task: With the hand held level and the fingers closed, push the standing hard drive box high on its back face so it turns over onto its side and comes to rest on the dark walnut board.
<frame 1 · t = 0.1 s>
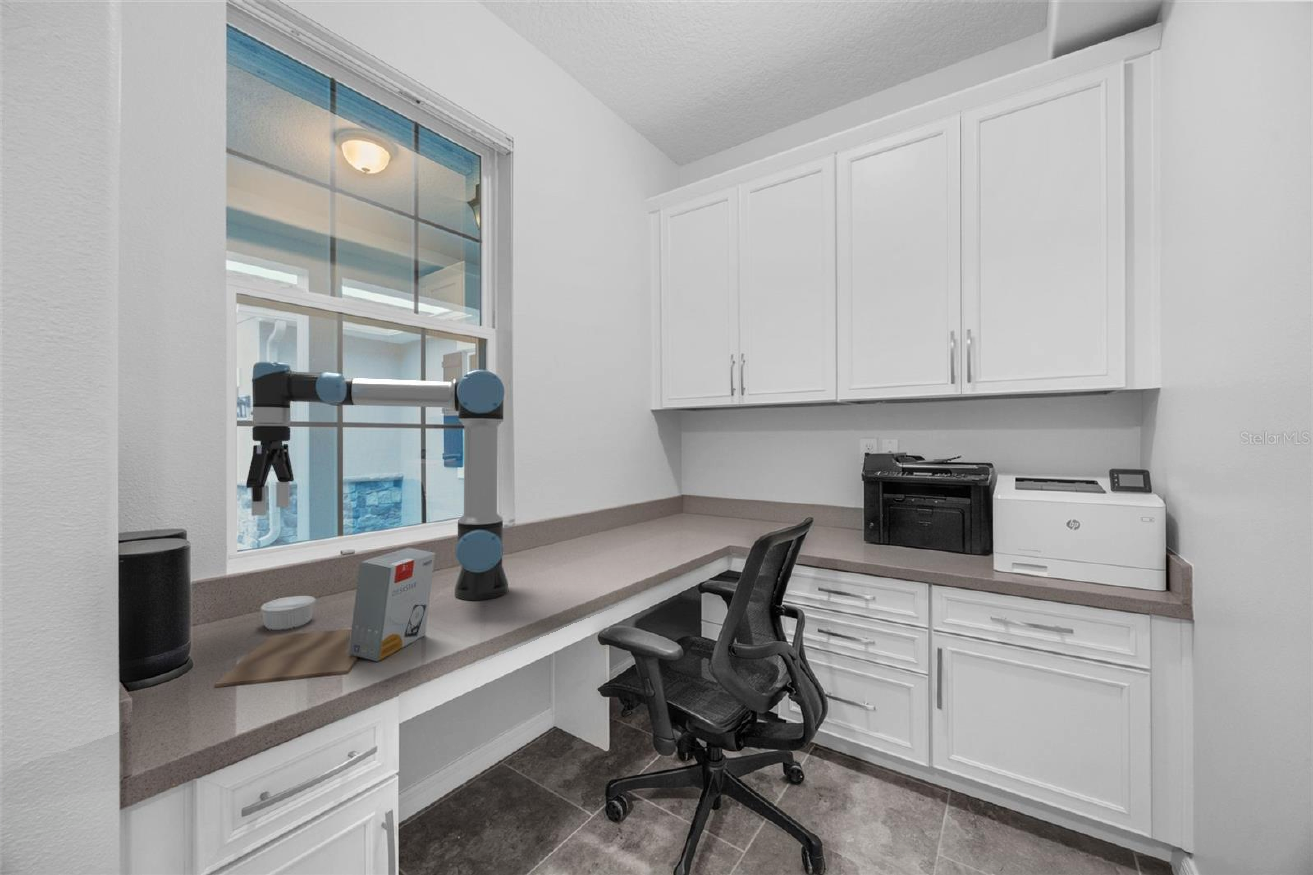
hand: (271, 511, 128), 28 cm above the table, tool pointing down, fingers open, 13 cm apart
ramekin: (288, 624, 129), on the table
walnut board: (306, 654, 111), on the table
hard drive box: (388, 645, 115), on the table, touching walnut board
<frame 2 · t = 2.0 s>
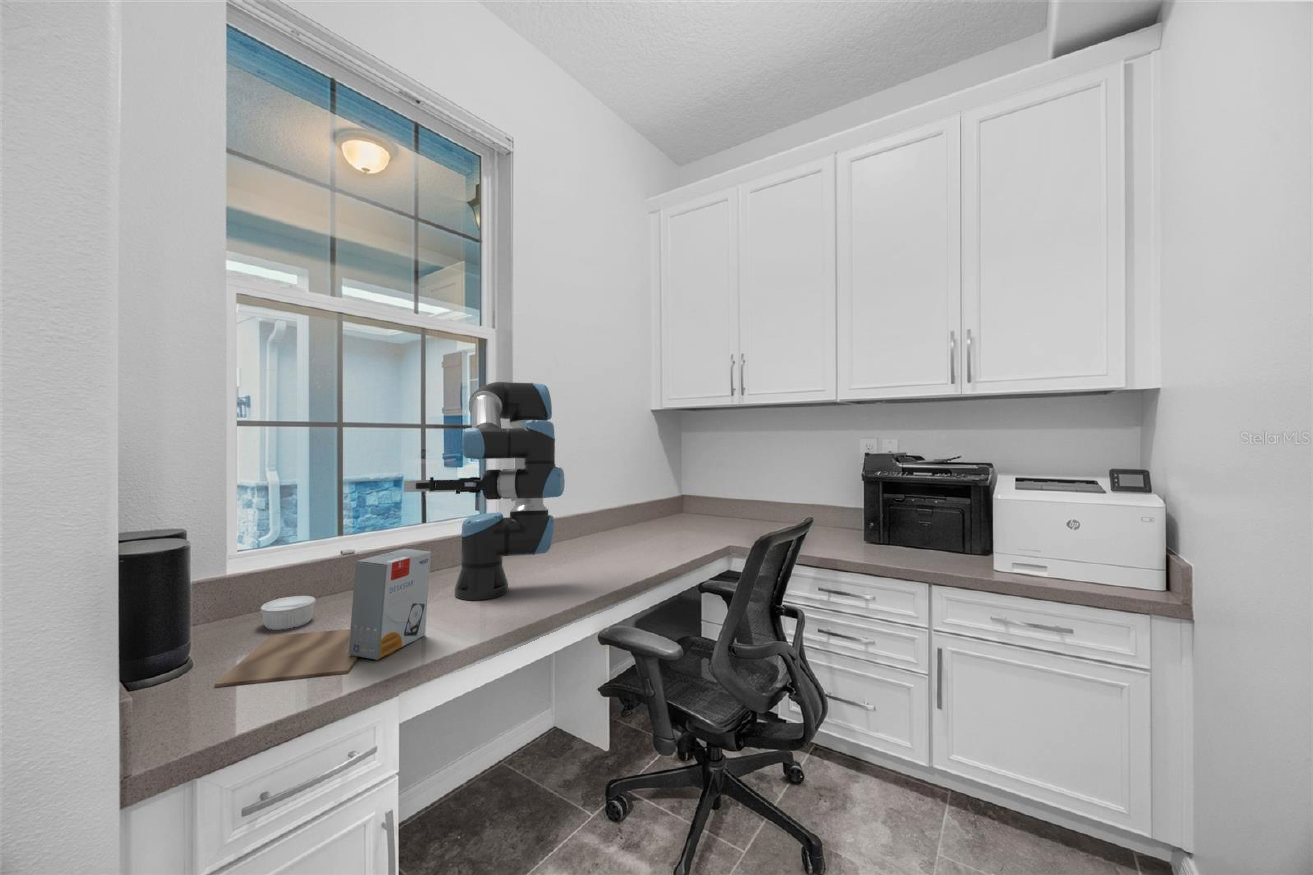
hand: (417, 486, 130), 34 cm above the table, tool horizontal, fingers open, 13 cm apart
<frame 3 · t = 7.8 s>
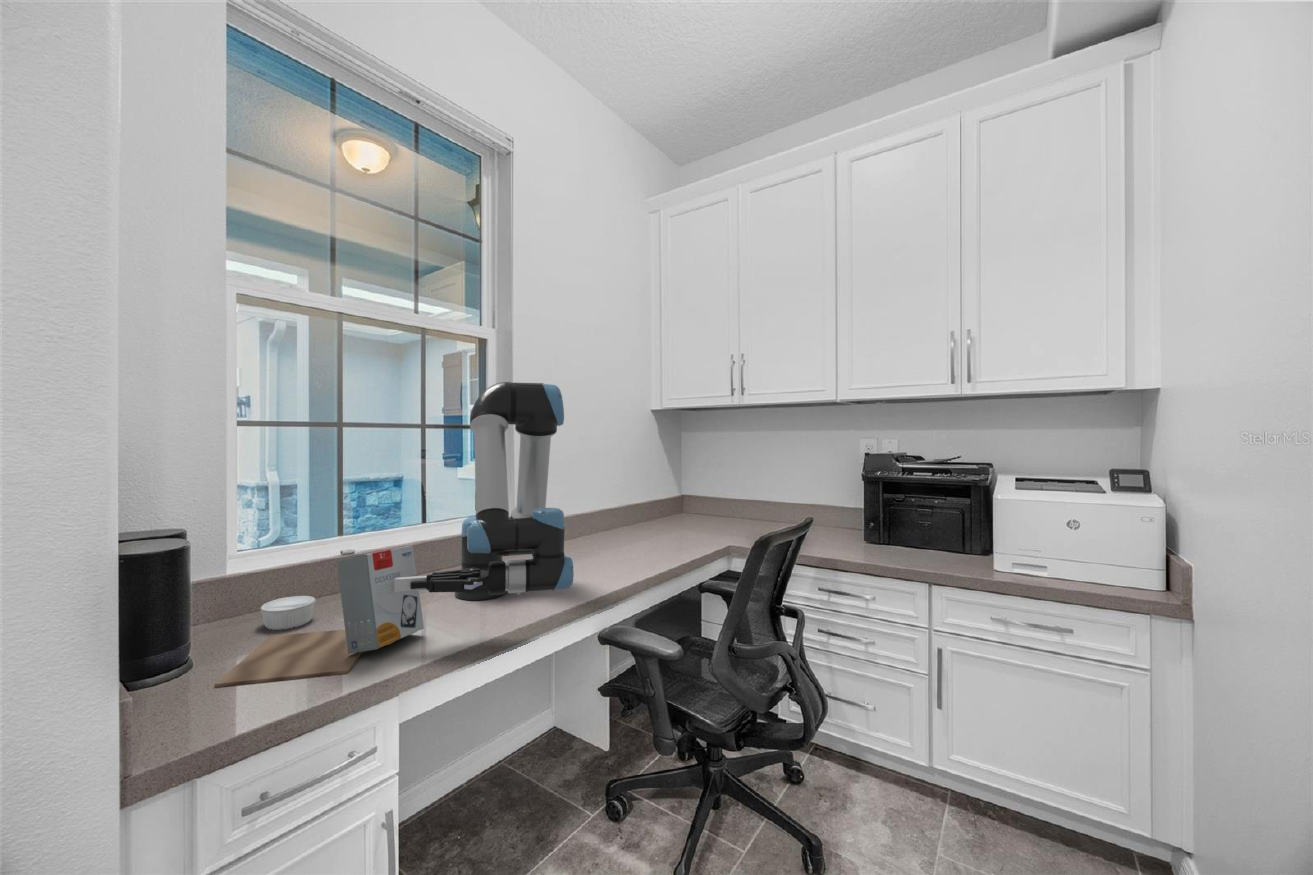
hand: (395, 584, 114), 14 cm above the table, tool horizontal, fingers closed
hard drive box: (388, 641, 115), point 1 cm above the table, touching walnut board
everything else where it was.
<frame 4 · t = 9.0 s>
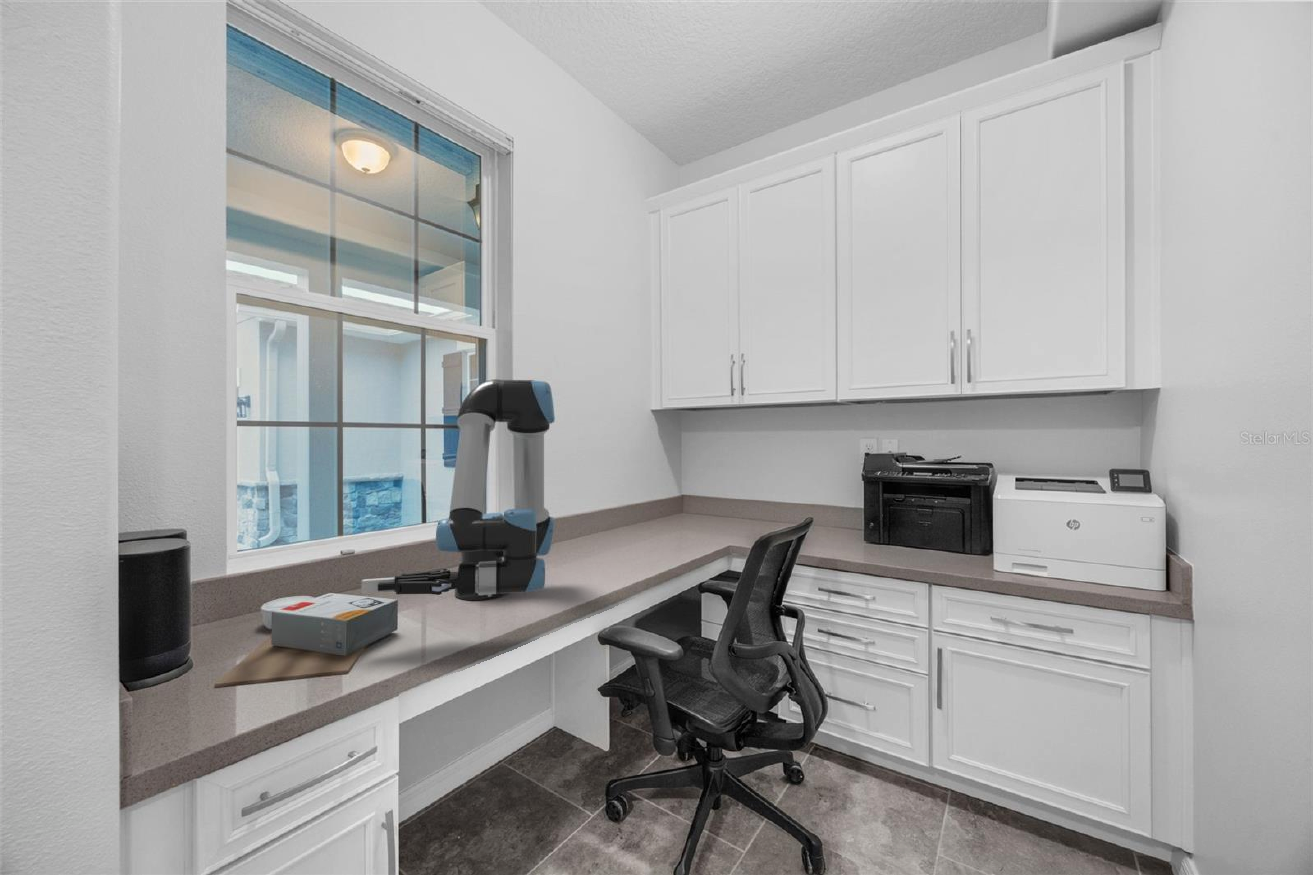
hand: (362, 586, 113), 14 cm above the table, tool horizontal, fingers closed
hard drive box: (375, 625, 116), point 4 cm above the table, touching walnut board
everything else where it was.
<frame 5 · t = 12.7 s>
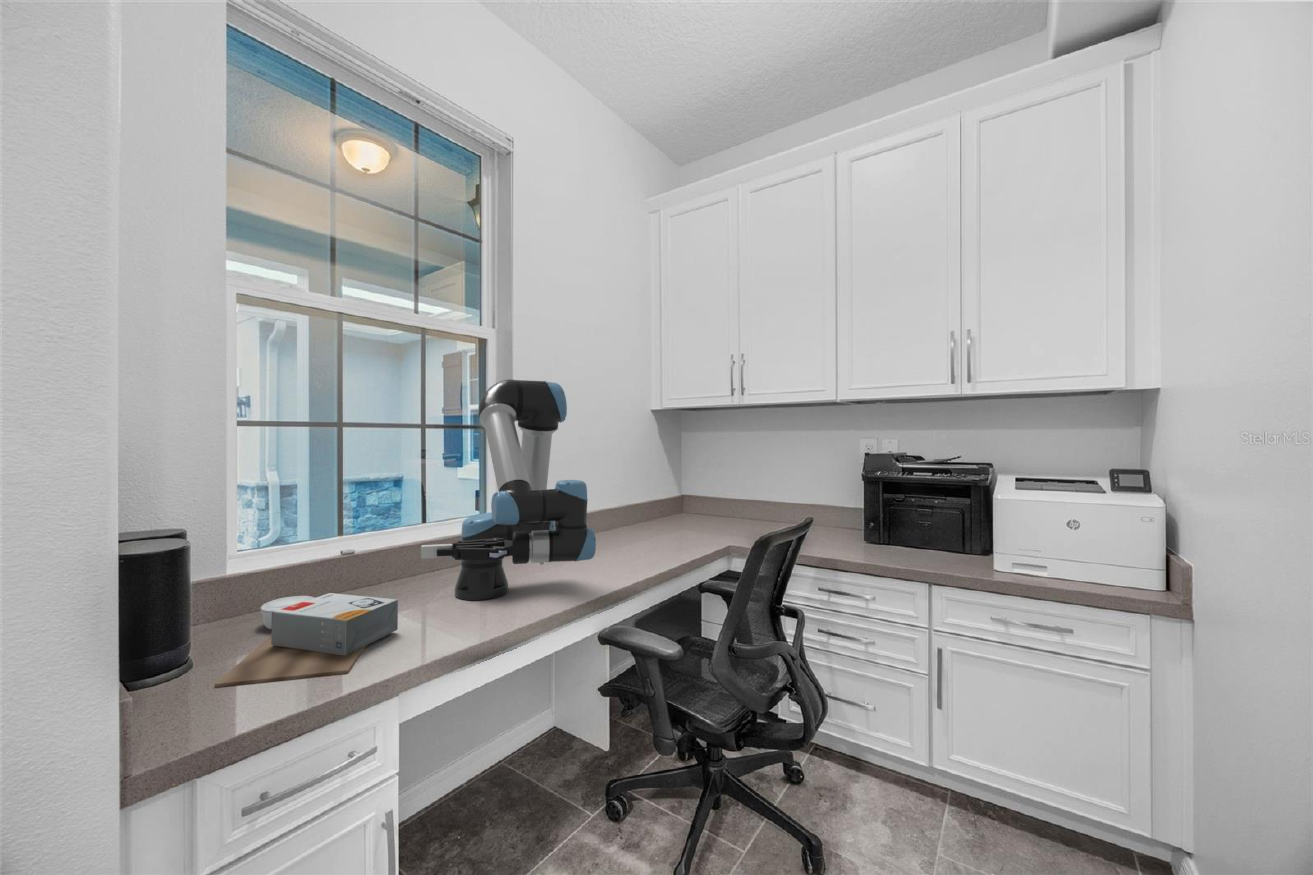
hand: (421, 551, 116), 21 cm above the table, tool horizontal, fingers closed
nothing on the table moved.
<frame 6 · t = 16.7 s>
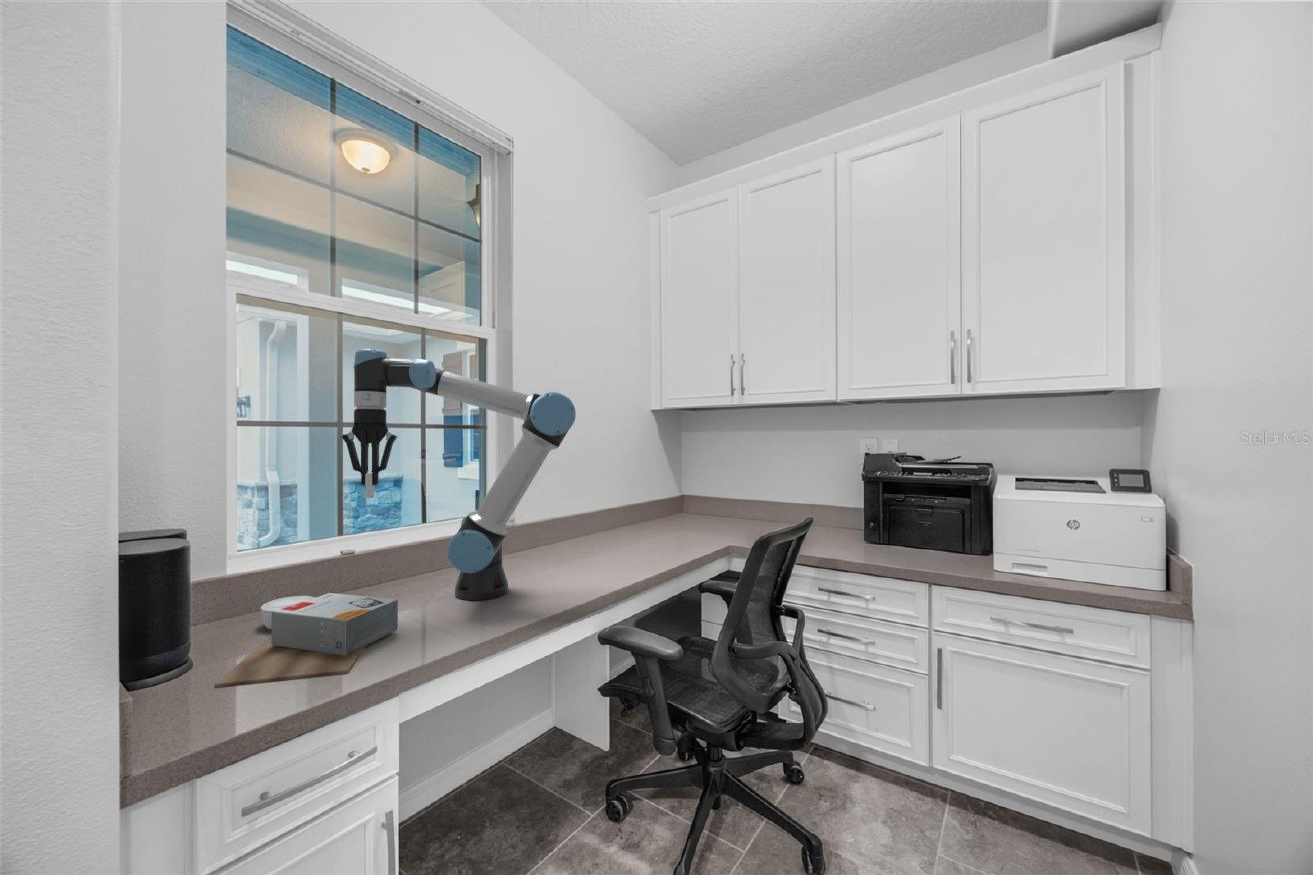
hand: (369, 497, 137), 30 cm above the table, tool pointing down, fingers closed
nothing on the table moved.
at the end: hard drive box tilted 90°; hard drive box touching walnut board; hard drive box inside the target area (4.2 cm from its centre), point 4.4 cm above the table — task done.
